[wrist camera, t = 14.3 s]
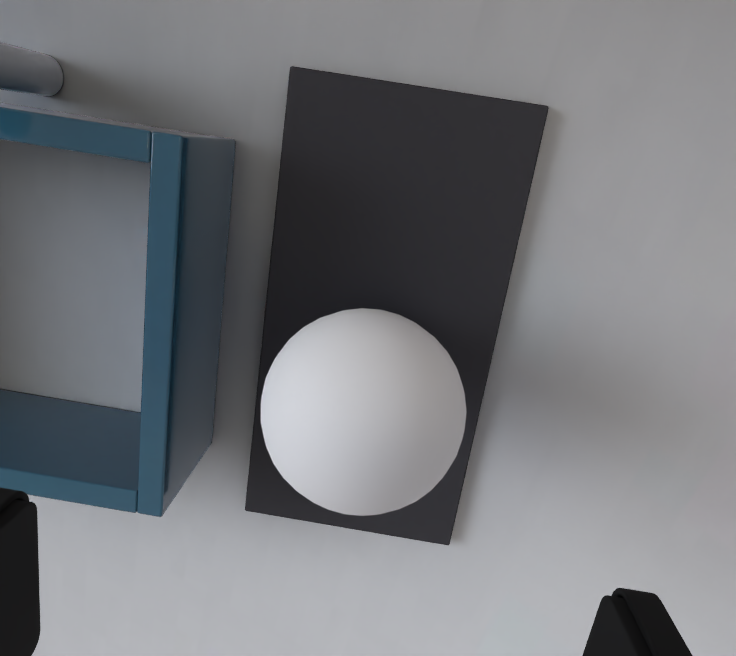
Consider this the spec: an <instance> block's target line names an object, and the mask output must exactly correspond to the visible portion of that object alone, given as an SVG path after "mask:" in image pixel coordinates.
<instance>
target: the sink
mask: <svg viewBox="0 0 736 656" xmlns="http://www.w3.org/2000/svg"><path fill="white" fill-rule="evenodd" d="M62 84H63V72H62V69H61V67H60V65H59V64H58V62H57V61H56V60H55V59H54V58H53V57H51V56H49V55H47V54H44V53H40V52H36V51H32V50H29V49H25V48H21V47H18V46H14V45H10V44H6V43H3V42H0V89H1V90H7V91H14V92H21V93H27V94H34V95H40V96H52V95H54V94H56V93H57V92H58V91H59V90H60V88H61V87H62ZM0 140H7V141H13V142H19V143H25V144H32V145H38V146H44V147H51V148H57V149H63V150H69V151H76V152H82V153H88V154H94V155H101V156H107V157H113V158H119V159H126V160H132V161H138V162H145V163H151V166H150V191H149V217H148V243H147V269H146V295H145V321H144V347H143V373H142V399H141V413H138V412H132V411H126V410H120V409H114V408H109V407H103V406H97V405H91V404H85V403H79V402H73V401H67V400H61V399H55V398H49V397H43V396H37V395H31V394H25V393H19V392H13V391H8V390H2V389H0V488H6V489H12V490H18V491H23V492H25V493H26V494H28V495H34V496H40V497H45V498H51V499H57V500H63V501H69V502H74V503H80V504H86V505H92V506H98V507H104V508H109V509H115V510H121V511H127V512H133V513H136V512H138V513H140V514H146V515H152V516H158V517H161V516H163V514H164V513H165V511H166V510H167V508H168V507H169V505H170V504H171V502H172V501H173V499H174V498H175V496H176V495H177V493H178V492H179V490H180V489H181V487H182V486H183V485H184V483H185V482H186V480H187V479H188V477H189V476H190V474H191V473H192V471H193V470H194V468H195V467H196V465H197V464H198V462H199V461H200V459H201V458H202V456H203V455H204V453H205V452H206V451H207V449H208V448H209V446H210V445H211V443H212V434H213V421H214V409H215V396H216V384H217V371H218V358H219V346H220V333H221V321H222V308H223V295H224V283H225V270H226V258H227V245H228V232H229V220H230V207H231V195H232V182H233V169H234V157H235V144H236V141H235V140H234V139H230V138H224V137H218V136H210V135H205V134H199V133H192V132H186V131H180V130H173V129H167V128H161V127H154V126H148V125H142V124H136V123H129V122H123V121H117V120H110V119H104V118H98V117H91V116H85V115H79V114H72V113H66V112H60V111H53V110H47V109H41V108H34V107H28V106H22V105H15V104H9V103H3V102H0Z"/></svg>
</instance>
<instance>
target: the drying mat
mask: <svg viewBox="0 0 736 656" xmlns="http://www.w3.org/2000/svg"><path fill="white" fill-rule="evenodd" d="M547 113H548V106H544V105H538V104H531V103H525V102H518V101H512V100H506V99H499V98H493V97H486V96H480V95H473V94H467V93H460V92H454V91H448V90H441V89H435V88H428V87H422V86H415V85H409V84H403V83H396V82H390V81H383V80H377V79H370V78H364V77H358V76H351V75H345V74H338V73H332V72H325V71H319V70H312V69H306V68H300V67H293V66H292V67H290V74H289V84H288V94H287V104H286V113H285V123H284V133H283V143H282V152H281V162H280V172H279V182H278V192H277V201H276V211H275V221H274V231H273V241H272V250H271V260H270V270H269V280H268V290H267V299H266V309H265V319H264V329H263V339H262V348H261V358H260V368H259V378H258V387H257V397H256V407H255V417H254V427H253V436H252V446H251V456H250V466H249V476H248V485H247V495H246V505H245V510H246V511H251V512H257V513H263V514H268V515H274V516H280V517H286V518H292V519H298V520H303V521H309V522H315V523H321V524H327V525H333V526H339V527H344V528H350V529H356V530H362V531H368V532H374V533H380V534H385V535H391V536H397V537H403V538H409V539H415V540H420V541H426V542H432V543H438V544H444V545H449V544H450V539H451V535H452V531H453V526H454V522H455V517H456V513H457V509H458V504H459V500H460V495H461V491H462V487H463V482H464V478H465V473H466V469H467V465H468V460H469V456H470V451H471V447H472V443H473V438H474V434H475V429H476V425H477V421H478V416H479V412H480V407H481V403H482V399H483V394H484V390H485V385H486V381H487V377H488V372H489V368H490V363H491V359H492V355H493V350H494V346H495V341H496V337H497V333H498V328H499V324H500V319H501V315H502V311H503V306H504V302H505V297H506V293H507V289H508V284H509V280H510V275H511V271H512V267H513V262H514V258H515V253H516V249H517V245H518V240H519V236H520V231H521V227H522V223H523V218H524V214H525V209H526V205H527V201H528V196H529V192H530V187H531V183H532V179H533V174H534V170H535V165H536V161H537V157H538V152H539V148H540V143H541V139H542V135H543V130H544V126H545V121H546V117H547ZM359 308H366V309H380V310H384V311H388V312H391V313H395V314H399V315H401V316H403V317H405V318H407V319H409V320H411V321H413V322H415V323H416V324H418V325H419V326H420V327H422V328H423V329H424V330H426V331H427V332H428V333H430V334H431V335H432V336H434V337H435V338H436V339H437V341H438V342H439V343H440V344H441V345H442V346H443V347H444V348H445V350H446V351H447V352H448V354H449V355H450V357H451V359H452V360H453V362H454V364H455V366H456V367H457V370H458V373H459V376H460V379H461V382H462V385H463V389H464V393H465V402H466V412H467V413H466V421H465V430H464V434H463V439H462V442H461V444H460V447H459V450H458V453H457V456H456V458H455V459H454V461H453V463H452V464H451V466H450V468H449V469H448V471H447V472H446V474H445V475H444V477H443V478H442V479H441V480H440V481H439V482H438V484H437V485H436V486H435V487H434V488H433V489H432V490H431V491H430V492H428V493H427V494H426V495H424V496H423V497H422V498H420V499H419V500H417V501H416V502H414V503H412V504H409V505H407V506H405V507H403V508H401V509H398V510H394V511H390V512H387V513H383V514H379V515H367V516H358V515H347V514H342V513H338V512H335V511H331V510H328V509H326V508H324V507H321V506H319V505H317V504H315V503H313V502H312V501H310V500H309V499H307V498H306V497H304V496H303V495H301V494H300V493H299V492H297V491H296V490H295V489H294V488H293V487H292V486H291V485H290V484H289V483H288V482H287V481H286V480H285V479H284V478H283V477H282V475H281V474H280V472H279V471H278V470H277V468H276V467H275V465H274V464H273V462H272V459H271V457H270V455H269V452H268V450H267V448H266V444H265V440H264V436H263V431H262V426H261V397H262V392H263V388H264V383H265V379H266V376H267V374H268V372H269V370H270V367H271V365H272V363H273V361H274V359H275V358H276V356H277V355H278V353H279V352H280V351H281V349H282V348H283V347H284V345H285V344H286V343H287V342H288V340H289V339H290V338H291V337H293V336H294V335H295V334H296V333H297V332H298V331H300V330H301V329H302V328H303V327H305V326H306V325H308V324H310V323H312V322H314V321H315V320H317V319H319V318H321V317H324V316H327V315H330V314H333V313H336V312H340V311H343V310H351V309H359Z"/></svg>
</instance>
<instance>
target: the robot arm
mask: <svg viewBox="0 0 736 656" xmlns="http://www.w3.org/2000/svg"><path fill="white" fill-rule="evenodd" d="M39 635H40V602H39V564H38V527H37V507H36V505H35V503H33V502H29V498H28V495H27V494H26V493H25V492H23V491H18V490H12V489H6V488H0V656H31V655H32V654H33V652H34V650H35V648H36V645H37V643H38V640H39ZM583 656H692V654H691V653H690V651H689V649H688V647H687V646H686V644H685V642H684V640H683V639H682V637H681V635H680V633H679V632H678V630H677V628H676V626H675V625H674V623H673V621H672V619H671V618H670V616H669V614H668V612H667V611H666V609H665V607H664V605H663V603H662V602H661V600H660V599H659V598H658V596H657V595H655V594H653V593H648V592H642V591H636V590H630V589H624V588H617V589H616V590H615V591H614V592H613V594H612V596H608V595H607V596H604V597H603V598H602V600H601V602H600V605H599V608H598V611H597V614H596V617H595V620H594V623H593V626H592V629H591V632H590V635H589V638H588V641H587V644H586V647H585V650H584V653H583Z"/></svg>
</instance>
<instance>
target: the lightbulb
mask: <svg viewBox="0 0 736 656" xmlns="http://www.w3.org/2000/svg"><path fill="white" fill-rule="evenodd" d="M466 413H467V412H466V402H465V393H464V389H463V385H462V382H461V379H460V376H459V373H458V370H457V367H456V366H455V364H454V362H453V360H452V359H451V357H450V355H449V354H448V352H447V351H446V350H445V348H444V347H443V346H442V345H441V344H440V343H439V342H438V341H437V339H436V338H435V337H434V336H432V335H431V334H430V333H428V332H427V331H426V330H424V329H423V328H422V327H420V326H419V325H418V324H416V323H415V322H413V321H411V320H409V319H407V318H405V317H403V316H401V315H399V314H395V313H391V312H388V311H384V310H380V309H366V308H359V309H351V310H343V311H340V312H336V313H333V314H330V315H327V316H324V317H321V318H319V319H317V320H315V321H314V322H312V323H310V324H308V325H306V326H305V327H303V328H302V329H301V330H300V331H298V332H297V333H296V334H295V335H294V336H293V337H291V338H290V339H289V340H288V342H287V343H286V344H285V345H284V347H283V348H282V349H281V351H280V352H279V353H278V355H277V356H276V358H275V359H274V361H273V363H272V365H271V367H270V370H269V372H268V374H267V376H266V379H265V383H264V388H263V392H262V397H261V426H262V431H263V436H264V440H265V444H266V448H267V450H268V452H269V455H270V457H271V459H272V462H273V464H274V465H275V467H276V468H277V470H278V471H279V472H280V474H281V475H282V477H283V478H284V479H285V480H286V481H287V482H288V483H289V484H290V485H291V486H292V487H293V488H294V489H295V490H296V491H297V492H299V493H300V494H301V495H303V496H304V497H306V498H307V499H309V500H310V501H312V502H313V503H315V504H317V505H319V506H321V507H324V508H326V509H328V510H331V511H335V512H338V513H342V514H347V515H358V516H367V515H379V514H383V513H387V512H390V511H394V510H398V509H401V508H403V507H405V506H407V505H409V504H412V503H414V502H416V501H417V500H419V499H420V498H422V497H423V496H424V495H426V494H427V493H428V492H430V491H431V490H432V489H433V488H434V487H435V486H436V485H437V484H438V482H439V481H440V480H441V479H442V478H443V477H444V475H445V474H446V472H447V471H448V469H449V468H450V466H451V464H452V463H453V461H454V459H455V458H456V456H457V453H458V450H459V447H460V444H461V442H462V439H463V434H464V430H465V421H466Z"/></svg>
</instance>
